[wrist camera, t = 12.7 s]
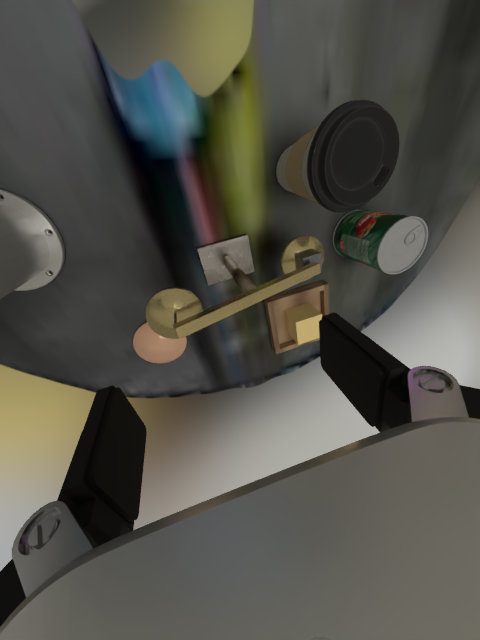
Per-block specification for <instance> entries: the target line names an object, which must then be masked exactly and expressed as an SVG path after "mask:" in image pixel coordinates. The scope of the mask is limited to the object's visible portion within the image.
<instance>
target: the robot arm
mask: <svg viewBox="0 0 480 640" xmlns="http://www.w3.org/2000/svg"><path fill="white" fill-rule="evenodd" d="M1 195H3V197H4V199H3V198H2V197H1ZM50 230H51V231H52V232H53V233H50ZM64 261H65V248H64V243H63V240H62V237H61V235H60V233H59V231H58V229H57V228H56V226H55V225H54V224H53V222H52V221H51V220H50V218H49V217H48V216H47V215H46V214H45V213H44V212H43V211H42V210H41V209H39V208H38V207H37V206H35V205H34V204H33V203H31V202H30V201H28V200H26V199H24V198H23V197H21V196H19V195H16V194H14V193H11V192H9V191H6V190H2V189H0V299H2V298H3V297H5V296H6V295H8V294H9V293H11V292H12V291H28V290H33V289H37V288H40V287H42V286H45V285H46V284H48V283H49V282H51V281H52V280H53V279H54V278H56V277H57V275H58V274H59V273H60V271H61V270H62V267H63V265H64ZM50 271H52V272H53V273H51V272H50ZM319 337H320V358H321V366H322V368H323V370H324V371H325V372H326V373H327V375H328V376H329V377H330V378H331V379H332V381H333V382H334V383H335V384H336V385H337V386H338V388H339V389H340V390H341V391H342V392H343V394H344V395H345V396H346V397H347V398H348V400H349V401H350V402H351V403H352V404H353V406H354V407H355V408H356V409H357V410H358V411H359V413H360V414H361V415H362V416H363V418H365V420H366V421H367V422H368V424H370V425H371V426H372V427H374V426H375V427H376V428H377V429H378V430H379V432H380V433H378V434H376V435H373V436H370V437H367V438H364V439H362V440H359V441H356V442H354V443H351V444H349V445H346V446H344V447H341V448H338V449H336V450H333V451H331V452H328V453H326V454H323V455H320V456H318V457H315V458H313V459H310V460H308V461H305V462H303V463H300V464H297V465H295V466H292V467H290V468H287V469H285V470H282V471H280V472H277V473H275V474H272V475H270V476H267V477H265V478H262V479H260V480H257V481H255V482H252V483H249V484H247V485H244V486H242V487H239V488H237V489H234V490H232V491H230V492H227V493H224V494H222V495H220V496H217V497H215V498H212V499H209V500H207V501H204V502H202V503H199V504H197V505H194V506H192V507H189V508H187V509H184V510H182V511H179V512H177V513H174V514H172V515H170V516H167V517H164V518H162V519H160V520H157V521H155V522H152V523H150V524H148V525H145V526H143V527H141V528H138V529H136V530H133V525H134V520H136V519H137V518H138V514H139V504H140V494H141V484H142V474H143V463H144V453H145V443H146V427H145V425H144V423H143V422H142V420H141V419H140V417H139V416H138V415H137V413H136V411H135V410H134V408H133V407H132V406H131V404H130V402H129V401H128V399H127V398H126V396H125V395H124V393H123V392H122V391H121V389H120V388H119V387H117V388H115V387H114V386H109V387H106V388H103V389H100V390H98V391H97V393H96V396H95V398H94V401H93V404H92V407H91V410H90V413H89V415H88V418H87V421H86V424H85V426H84V429H83V431H82V433H81V436H80V439H79V441H78V444H77V447H76V450H75V453H74V455H73V458H72V461H71V464H70V467H69V469H68V472H67V475H66V478H65V480H64V483H63V486H62V489H61V492H60V494H59V497H58V500H57V501H54V502H51V503H48V504H46V505H45V506H43V507H42V508H40V509H39V510H38V511H36V512H35V513H34V514H33V515H32V516H31V517H30V518H29V519H28V520H27V521H26V522H25V524H24V525H23V527H22V528H21V530H20V531H19V533H18V535H17V537H16V539H15V541H14V544H13V548H12V558H13V559H12V560H11V561H10V562H9V563H8V564H7V565H6V566H5V567H4V568H3V569H2V570H1V572H0V640H480V389H475V388H471V387H466V386H461V385H459V384H458V382H457V380H456V379H455V378H454V377H453V376H452V375H451V374H449V373H447V372H446V371H444V370H441V369H439V368H435V367H431V366H420V367H415V368H413V369H409V368H408V367H407V366H405V365H404V364H403V363H401V362H400V361H399V360H397V359H396V358H395V357H393V356H392V355H391V354H389V353H388V352H387V351H385V350H384V349H383V348H382V347H380V346H379V345H378V344H376V343H375V342H374V341H372V340H371V339H370V338H369V337H367V336H366V335H364V334H363V333H361V332H360V331H359V330H357V329H356V328H355V327H354V326H352V325H351V324H350V323H348V322H347V321H346V320H344V319H343V318H342V317H340V316H339V315H338V314H336V313H331V314H328V315H325V316H323V317H322V319H321V320H320V321H319Z"/></svg>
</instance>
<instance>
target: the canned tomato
mask: <svg viewBox="0 0 480 640" xmlns="http://www.w3.org/2000/svg"><path fill="white" fill-rule="evenodd" d="M427 239H428V228H427V225H426V223H425V222H424V220H422V219H421V218H419V217H416V216H405V215H396V214H388V213H380V212H372V211H363V210H354V211H351V212H349V213H347V214H346V215H344V216H343V217H342V218H341V219H340V221H339V222H338V223H337V225H336V227H335V230H334V233H333V246H334V249H335V250H336V252H337V253H338V254H339V255H342V256H345V257H347V258H350V259H352V260H355V261H357V262H360V263H362V264H365V265H367V266H370V267H373V268H375V269H378V270H380V271H383V272H385V273H387V274H398V273H401V272H403V271H405V270H407V269H408V268H410V267H411V266H412V265H413V264H414V263H415V262H416V261H417V260H418V259H419V257H420V256H421V254H422V253H423V251H424V249H425V246H426V244H427Z"/></svg>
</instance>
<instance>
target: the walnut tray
mask: <svg viewBox="0 0 480 640" xmlns="http://www.w3.org/2000/svg"><path fill="white" fill-rule="evenodd" d="M305 303H310V304H311V305H312V306H313V307H314V308H316V309H317V310H318V311H319V312H320V313H321V314H322V317H323V316H325V315H328V314H329V283H327V282H326V281H324V280H321V281H318V282H315V283H312V284H308V285H305V286H302V287H299V288H296V289H292V290H289V291H286V292H283V293H280V294H276V295H273V296H270V297H268V298H266V299H264V304H265V310H266V315H267V321H268V326H269V332H270V338H271V343H272V349H273V350H274V352H275V353H276V354H279V353H282V352H284V351H287V350H290V349H293V348H296V347H299V346H302V345H305V344H308V343H311V342H314V341H317V340H320V338H317V339H314V340H312V341H309V342H306V343H303V344H300V345H298V344H297V343H296V342H295V340H294V339H293V338H292V337H291V336H290V334H289V333H288V332H287V327H286V319H285V312H284V310H286V309H289V308H292V307H296V306H299V305H302V304H305Z"/></svg>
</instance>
